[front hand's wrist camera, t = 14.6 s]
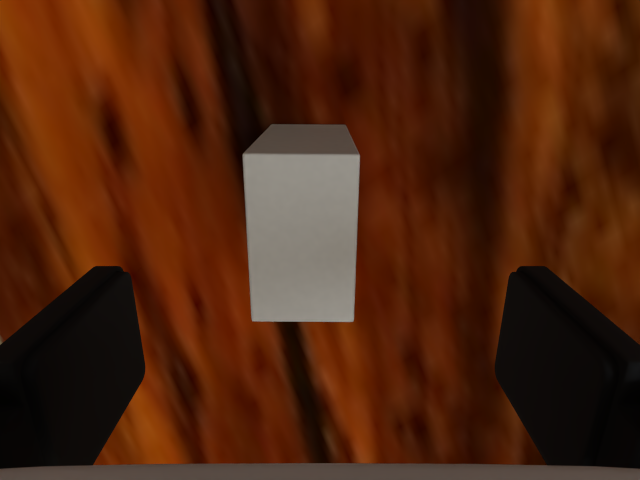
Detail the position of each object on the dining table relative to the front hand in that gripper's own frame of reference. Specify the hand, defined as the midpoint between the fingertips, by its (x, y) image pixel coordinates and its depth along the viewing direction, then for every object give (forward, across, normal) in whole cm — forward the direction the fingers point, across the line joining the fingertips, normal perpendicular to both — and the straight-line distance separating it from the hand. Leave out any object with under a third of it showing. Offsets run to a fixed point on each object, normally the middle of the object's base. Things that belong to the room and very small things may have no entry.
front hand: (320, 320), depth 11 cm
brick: (+16, -1, 0) cm, 16 cm away
